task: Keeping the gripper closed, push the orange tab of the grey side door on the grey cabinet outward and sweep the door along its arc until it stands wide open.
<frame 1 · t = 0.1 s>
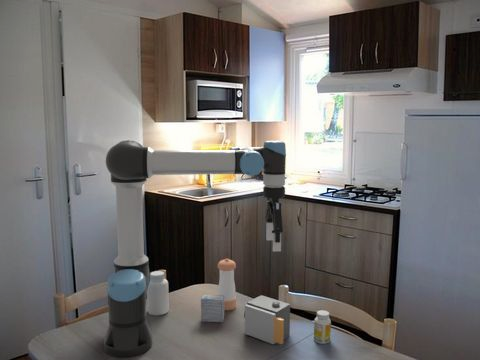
hand: (273, 245, 166), 28 cm above the table, tool pointing down, fingers open, 13 cm apart
side door: (263, 325, 154), point 6 cm above the table, hinge at 0.0°
grey cabinet: (268, 334, 160), on the table
pill bottle: (158, 312, 177), on the table
medicine box: (212, 320, 171), on the table
supplement bottle: (321, 340, 156), on the table
pepper shaker: (226, 307, 182), on the table
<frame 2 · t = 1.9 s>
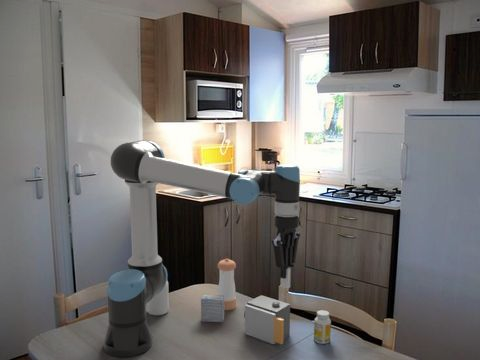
hand: (285, 286, 150), 19 cm above the table, tool pointing down, fingers closed
nothing on the table moved.
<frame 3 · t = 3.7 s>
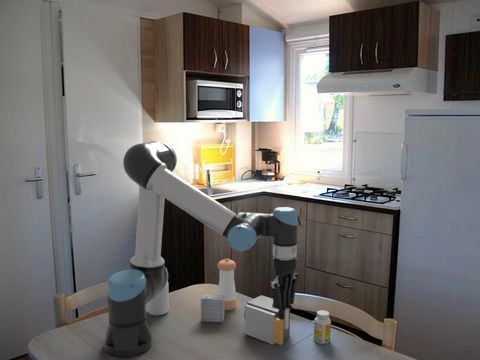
hand: (283, 327, 152), 6 cm above the table, tool pointing down, fingers closed
side door: (263, 325, 154), point 6 cm above the table, hinge at 1.1°, touching gripper
everything else where it was.
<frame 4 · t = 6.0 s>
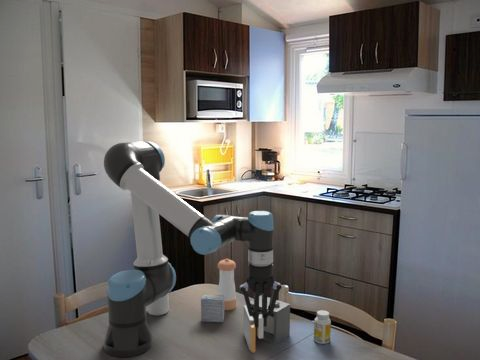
hand: (260, 336, 146), 6 cm above the table, tool pointing down, fingers closed
side door: (249, 329, 151), point 6 cm above the table, hinge at 42.6°, touching gripper
everything else where it was.
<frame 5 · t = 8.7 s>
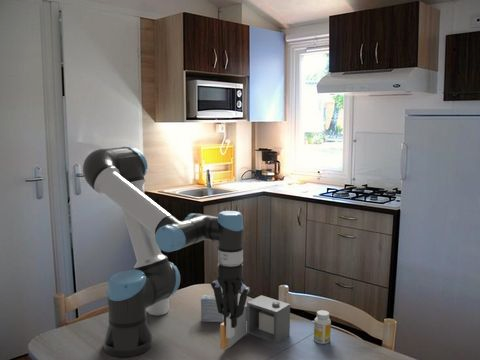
hand: (230, 336, 146), 6 cm above the table, tool pointing down, fingers closed
side door: (233, 327, 152), point 5 cm above the table, hinge at 80.9°, touching gripper
everything else where it was.
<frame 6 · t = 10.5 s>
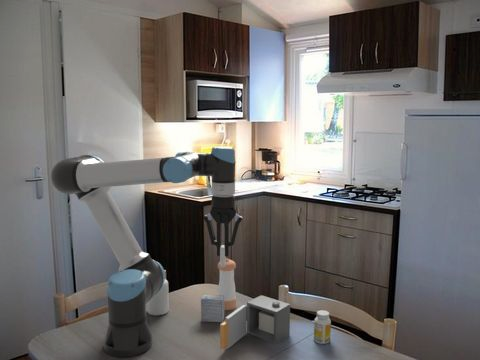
hand: (222, 265, 155), 24 cm above the table, tool pointing down, fingers closed
side door: (233, 327, 152), point 6 cm above the table, hinge at 81.0°
everything else where it was.
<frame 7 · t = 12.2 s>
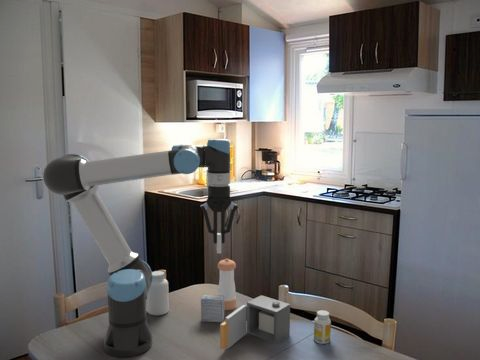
hand: (219, 252, 163), 26 cm above the table, tool pointing down, fingers closed
nothing on the table moved.
at the end: side door at +81° (first picture: +0°); supplement bottle moved 0.2 cm from its start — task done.
